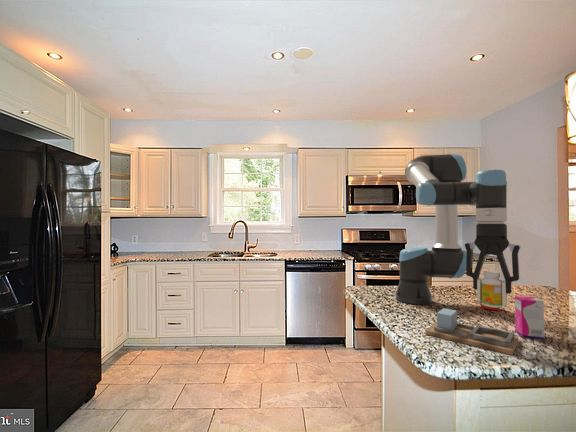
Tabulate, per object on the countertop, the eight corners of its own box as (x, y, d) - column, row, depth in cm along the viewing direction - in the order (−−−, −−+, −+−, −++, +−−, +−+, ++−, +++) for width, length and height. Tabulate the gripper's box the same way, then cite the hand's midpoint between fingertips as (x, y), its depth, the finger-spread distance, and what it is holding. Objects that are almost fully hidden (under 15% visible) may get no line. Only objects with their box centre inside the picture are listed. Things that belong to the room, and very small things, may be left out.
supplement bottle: (476, 303, 92) (476, 270, 92) (493, 302, 92) (493, 270, 92) (490, 308, 86) (489, 273, 87) (507, 307, 87) (507, 273, 87)
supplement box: (536, 332, 97) (536, 296, 97) (545, 339, 92) (544, 301, 92) (514, 330, 99) (514, 295, 99) (521, 337, 93) (521, 299, 94)
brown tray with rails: (425, 334, 95) (425, 325, 96) (438, 324, 105) (438, 316, 105) (512, 355, 81) (512, 344, 81) (518, 341, 90) (518, 331, 90)
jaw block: (437, 328, 96) (436, 312, 96) (443, 323, 101) (443, 308, 101) (451, 332, 93) (450, 315, 93) (457, 326, 99) (456, 310, 99)
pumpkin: (476, 307, 127) (475, 291, 128) (497, 309, 126) (496, 292, 126) (483, 310, 120) (482, 293, 121) (506, 311, 119) (505, 294, 120)
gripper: (453, 222, 93) (453, 299, 93) (530, 223, 81) (531, 311, 80) (459, 222, 99) (459, 295, 98) (532, 223, 86) (533, 305, 86)
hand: (491, 302), depth 89 cm, fingers closed on supplement bottle, 5 cm apart
